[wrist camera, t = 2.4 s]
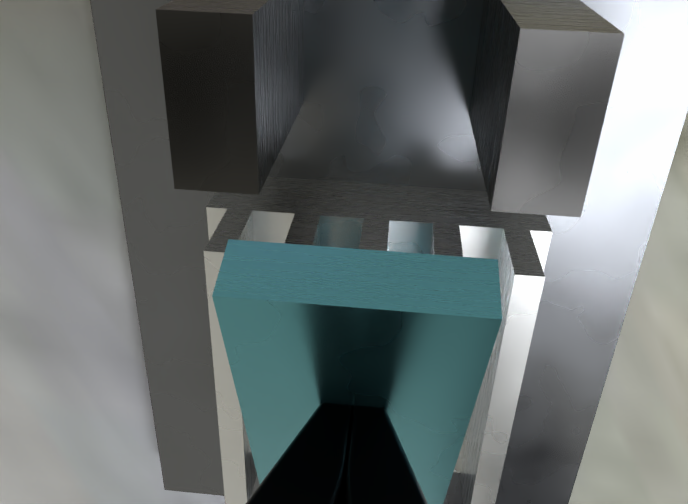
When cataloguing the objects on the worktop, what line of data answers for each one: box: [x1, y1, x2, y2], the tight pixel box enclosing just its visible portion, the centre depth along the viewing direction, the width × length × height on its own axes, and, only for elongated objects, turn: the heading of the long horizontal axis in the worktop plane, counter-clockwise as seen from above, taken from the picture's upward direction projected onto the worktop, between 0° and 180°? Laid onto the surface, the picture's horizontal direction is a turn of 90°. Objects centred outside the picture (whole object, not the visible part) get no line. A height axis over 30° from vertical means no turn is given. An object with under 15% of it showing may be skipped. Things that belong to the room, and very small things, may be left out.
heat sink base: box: [90, 0, 688, 504], centre depth 17 cm, size 18×14×7 cm
